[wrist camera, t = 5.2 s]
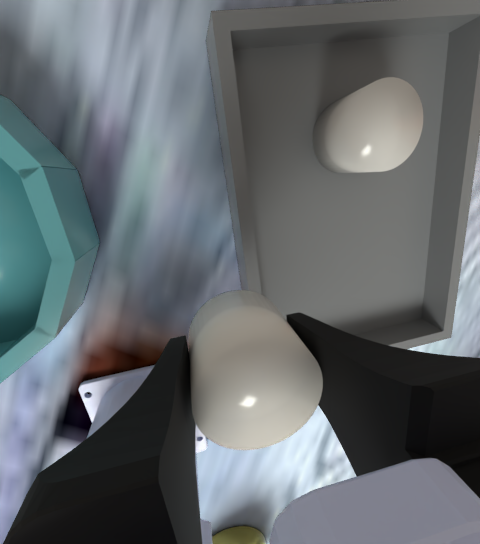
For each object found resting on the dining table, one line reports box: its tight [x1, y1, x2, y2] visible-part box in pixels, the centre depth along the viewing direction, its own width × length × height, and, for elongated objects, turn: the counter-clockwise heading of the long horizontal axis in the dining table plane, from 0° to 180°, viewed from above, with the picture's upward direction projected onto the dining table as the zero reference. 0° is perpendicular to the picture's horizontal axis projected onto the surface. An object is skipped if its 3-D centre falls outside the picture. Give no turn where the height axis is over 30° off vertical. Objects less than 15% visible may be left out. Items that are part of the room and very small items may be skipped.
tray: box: [206, 0, 480, 349], centre depth 19 cm, size 22×16×3 cm
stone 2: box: [313, 77, 423, 173], centre depth 16 cm, size 4×4×4 cm
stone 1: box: [189, 290, 323, 450], centre depth 11 cm, size 4×4×4 cm
